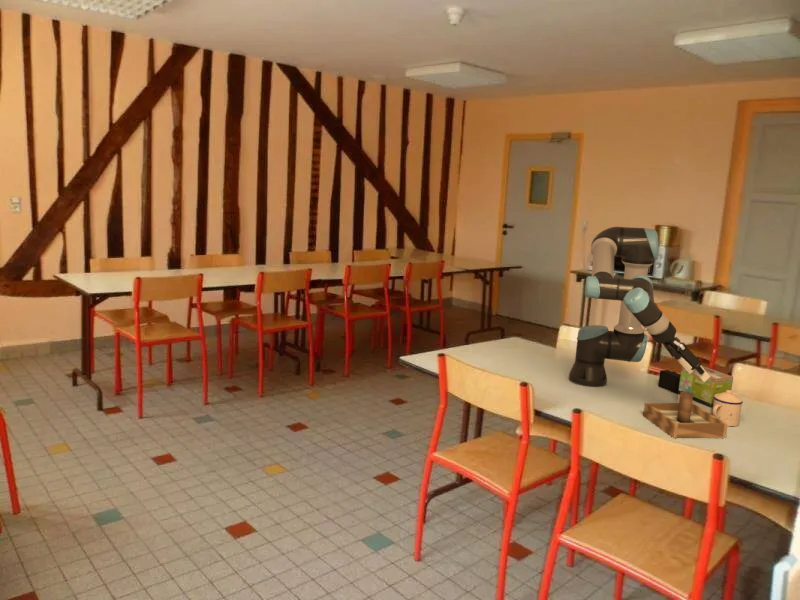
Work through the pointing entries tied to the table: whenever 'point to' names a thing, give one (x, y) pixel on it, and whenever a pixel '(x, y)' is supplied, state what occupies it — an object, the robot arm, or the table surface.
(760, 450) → the table surface
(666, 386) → the digital camera
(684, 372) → the tea box
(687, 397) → the walnut dowel
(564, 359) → the table surface
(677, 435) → the oak box
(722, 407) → the teacup with lid
